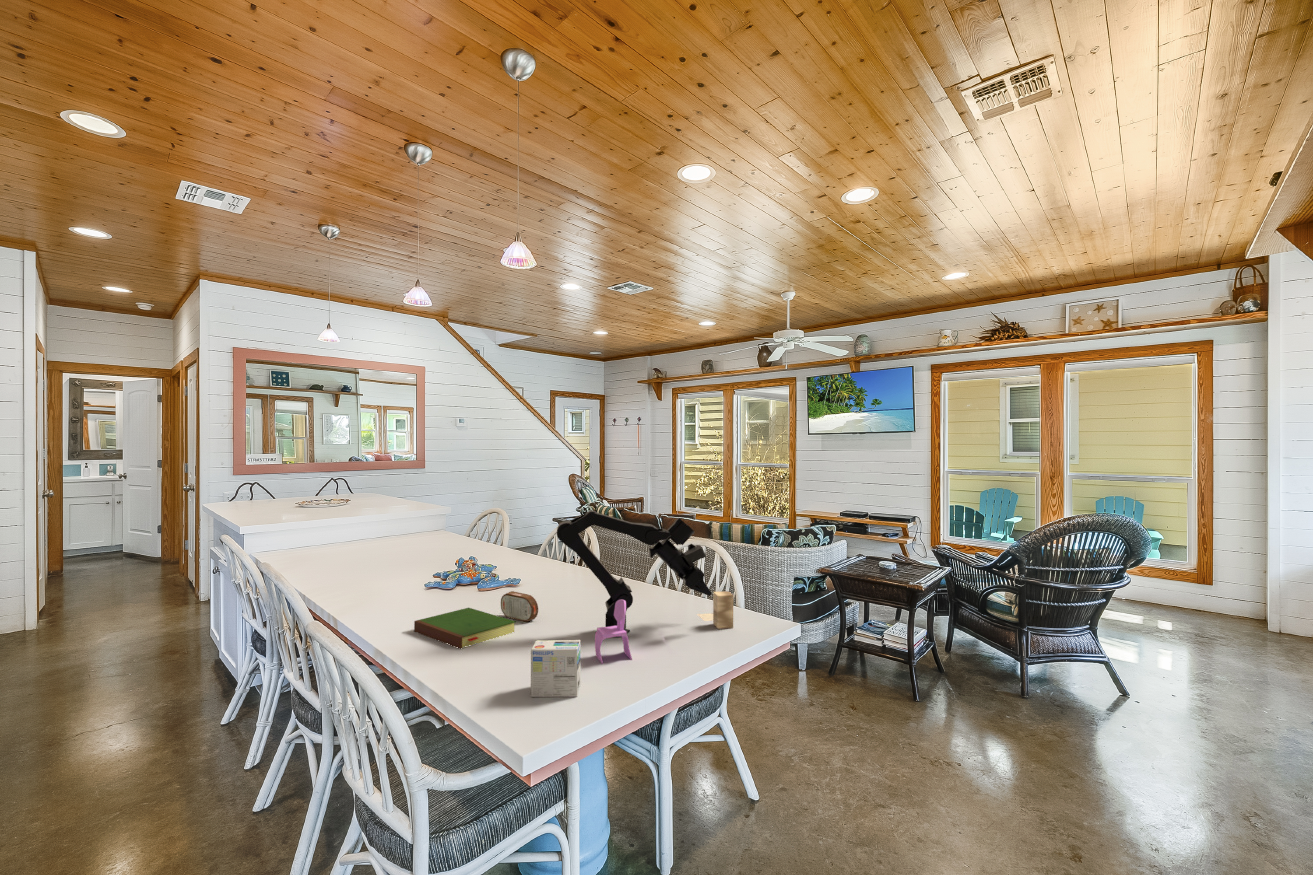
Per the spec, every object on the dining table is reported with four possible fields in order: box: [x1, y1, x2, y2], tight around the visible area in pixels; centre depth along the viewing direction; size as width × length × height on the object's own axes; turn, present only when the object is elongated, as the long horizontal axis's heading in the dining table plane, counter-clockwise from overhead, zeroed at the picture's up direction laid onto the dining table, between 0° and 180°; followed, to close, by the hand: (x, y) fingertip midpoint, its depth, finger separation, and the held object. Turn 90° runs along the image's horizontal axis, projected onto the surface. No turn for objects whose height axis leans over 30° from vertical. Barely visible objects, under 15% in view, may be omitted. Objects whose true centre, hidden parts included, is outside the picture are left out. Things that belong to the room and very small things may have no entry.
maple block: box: [712, 591, 734, 630], centre depth 176 cm, size 5×5×10 cm
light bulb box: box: [530, 639, 581, 698], centre depth 129 cm, size 11×7×11 cm, turn 92°
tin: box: [500, 590, 539, 623], centre depth 184 cm, size 15×3×8 cm, turn 58°
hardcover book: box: [413, 607, 517, 650], centre depth 170 cm, size 25×19×4 cm
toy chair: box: [594, 599, 633, 665], centre depth 150 cm, size 8×9×15 cm
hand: (706, 590), depth 175 cm, fingers open, 9 cm apart
